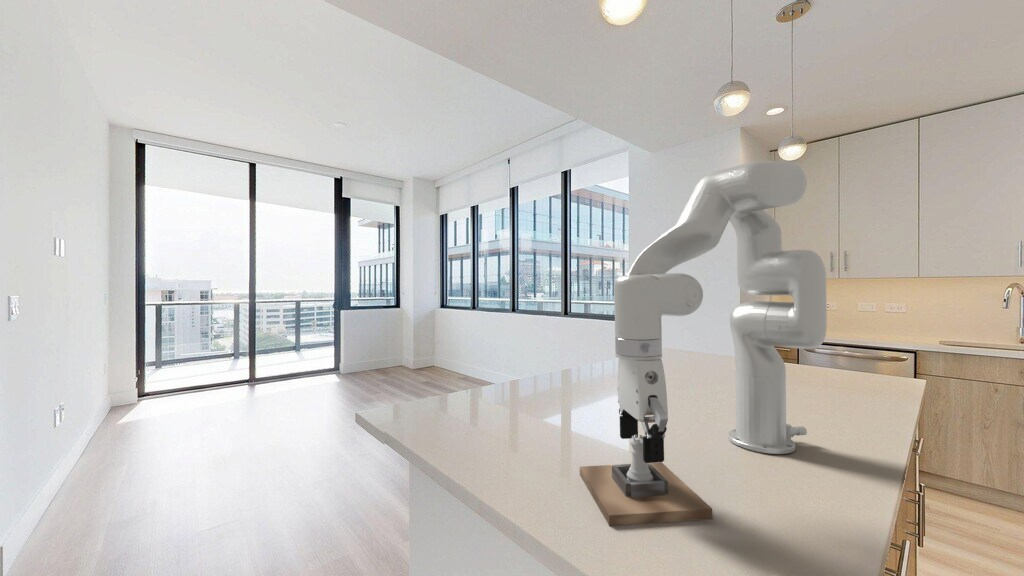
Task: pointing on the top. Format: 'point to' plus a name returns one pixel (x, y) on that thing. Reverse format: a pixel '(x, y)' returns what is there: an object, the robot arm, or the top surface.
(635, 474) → the rook chess piece
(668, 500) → the jig board
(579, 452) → the top surface
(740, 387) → the robot arm
